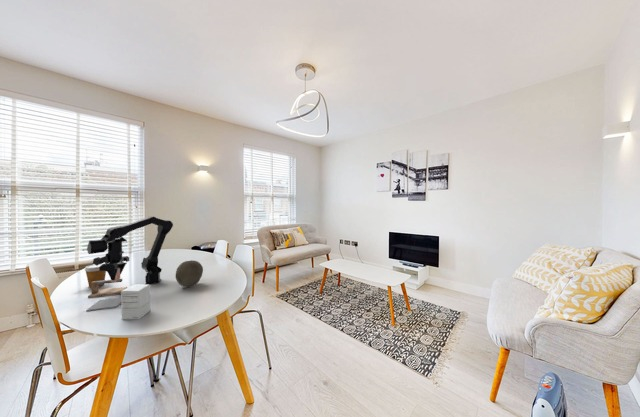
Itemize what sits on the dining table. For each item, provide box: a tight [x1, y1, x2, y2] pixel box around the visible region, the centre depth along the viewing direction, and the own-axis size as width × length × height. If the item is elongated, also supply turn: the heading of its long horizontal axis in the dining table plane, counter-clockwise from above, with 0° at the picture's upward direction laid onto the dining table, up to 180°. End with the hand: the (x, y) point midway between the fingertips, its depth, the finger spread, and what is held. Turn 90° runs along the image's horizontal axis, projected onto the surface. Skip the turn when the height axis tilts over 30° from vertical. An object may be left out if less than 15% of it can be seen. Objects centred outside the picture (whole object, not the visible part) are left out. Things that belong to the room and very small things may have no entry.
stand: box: [87, 278, 128, 299], centre depth 121 cm, size 14×8×7 cm, turn 111°
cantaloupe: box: [175, 259, 204, 288], centre depth 132 cm, size 14×14×15 cm
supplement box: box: [120, 284, 151, 320], centre depth 98 cm, size 7×7×13 cm
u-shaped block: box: [110, 269, 121, 282], centre depth 121 cm, size 2×5×6 cm, turn 21°
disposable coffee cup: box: [83, 263, 107, 289], centre depth 130 cm, size 10×10×12 cm
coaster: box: [85, 296, 121, 312], centre depth 108 cm, size 11×11×1 cm
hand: (115, 278), depth 122 cm, fingers closed on u-shaped block, 5 cm apart
